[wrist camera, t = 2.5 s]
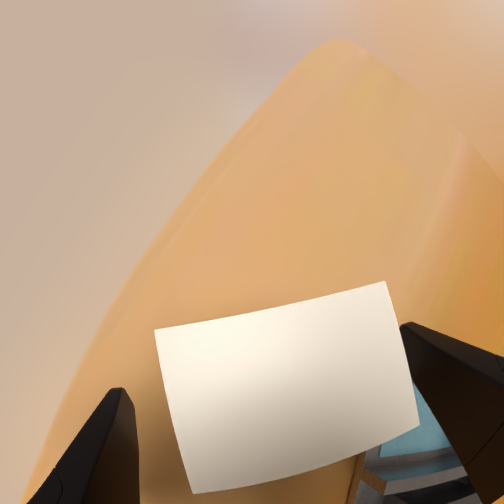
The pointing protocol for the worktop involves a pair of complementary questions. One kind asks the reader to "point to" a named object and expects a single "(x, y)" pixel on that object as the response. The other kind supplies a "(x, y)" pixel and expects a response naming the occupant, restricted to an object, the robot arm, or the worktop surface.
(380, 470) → the rack
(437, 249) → the worktop surface
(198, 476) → the white rectangular block
